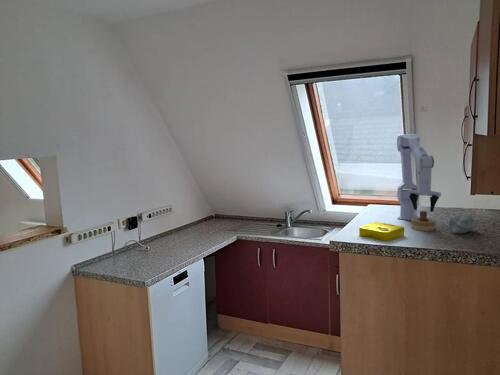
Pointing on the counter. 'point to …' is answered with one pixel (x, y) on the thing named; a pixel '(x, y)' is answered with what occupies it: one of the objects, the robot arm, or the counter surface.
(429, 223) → the bead
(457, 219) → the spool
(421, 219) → the peg
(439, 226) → the counter surface
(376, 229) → the element tile
